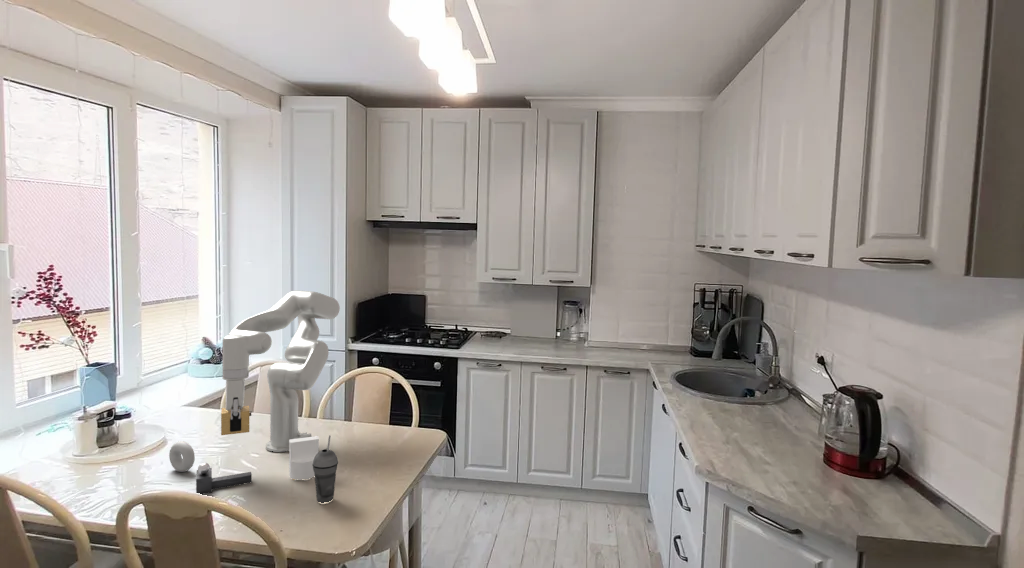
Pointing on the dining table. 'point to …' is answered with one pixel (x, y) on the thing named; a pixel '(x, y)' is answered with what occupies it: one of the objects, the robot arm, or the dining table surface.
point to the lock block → (227, 416)
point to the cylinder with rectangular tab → (302, 457)
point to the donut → (176, 456)
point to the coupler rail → (217, 479)
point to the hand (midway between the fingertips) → (235, 427)
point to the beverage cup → (325, 473)
